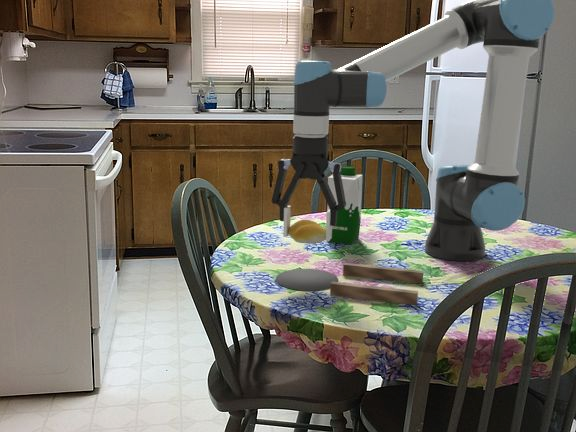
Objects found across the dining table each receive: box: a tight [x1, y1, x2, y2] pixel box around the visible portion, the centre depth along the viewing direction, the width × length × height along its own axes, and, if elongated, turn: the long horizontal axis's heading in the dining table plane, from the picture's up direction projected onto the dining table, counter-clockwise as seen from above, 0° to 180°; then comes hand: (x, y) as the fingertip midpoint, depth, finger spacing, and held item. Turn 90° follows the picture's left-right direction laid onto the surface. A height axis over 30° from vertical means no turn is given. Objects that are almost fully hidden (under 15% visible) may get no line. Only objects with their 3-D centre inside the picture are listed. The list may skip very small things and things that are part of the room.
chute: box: [329, 262, 425, 306], centre depth 138 cm, size 18×15×2 cm
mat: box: [275, 268, 339, 292], centre depth 143 cm, size 14×14×1 cm
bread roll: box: [288, 219, 326, 245], centre depth 140 cm, size 8×9×4 cm
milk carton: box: [326, 165, 363, 245], centre depth 173 cm, size 9×9×20 cm
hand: (307, 237), depth 140 cm, fingers closed on bread roll, 9 cm apart
